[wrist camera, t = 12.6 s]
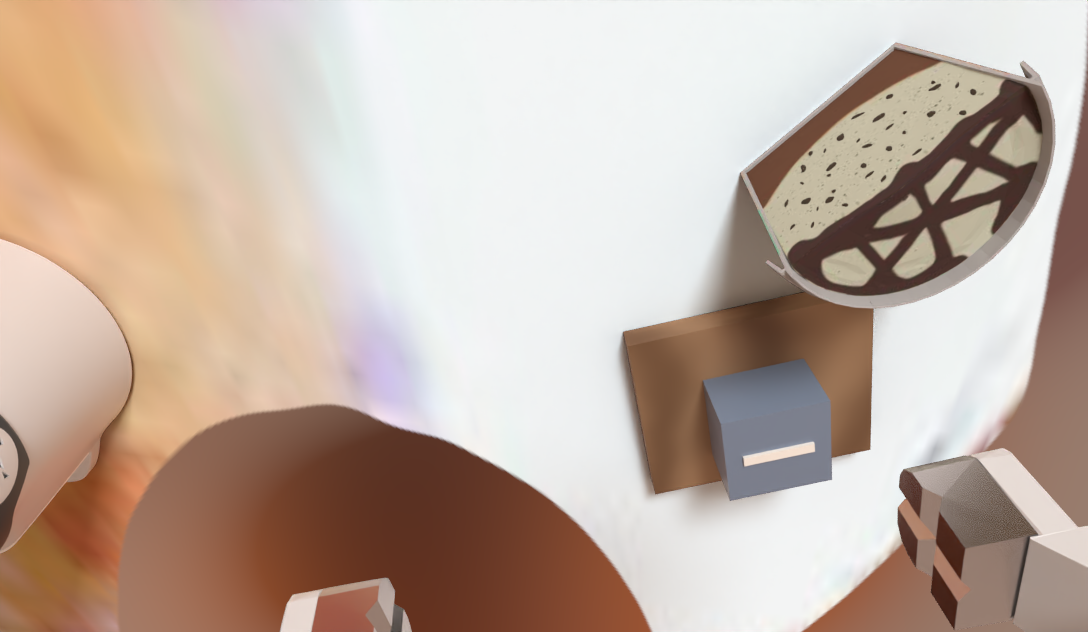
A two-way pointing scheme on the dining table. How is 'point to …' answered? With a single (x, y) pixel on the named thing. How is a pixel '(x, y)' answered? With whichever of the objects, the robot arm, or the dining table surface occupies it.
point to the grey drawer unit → (769, 429)
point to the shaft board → (740, 345)
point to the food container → (905, 178)
